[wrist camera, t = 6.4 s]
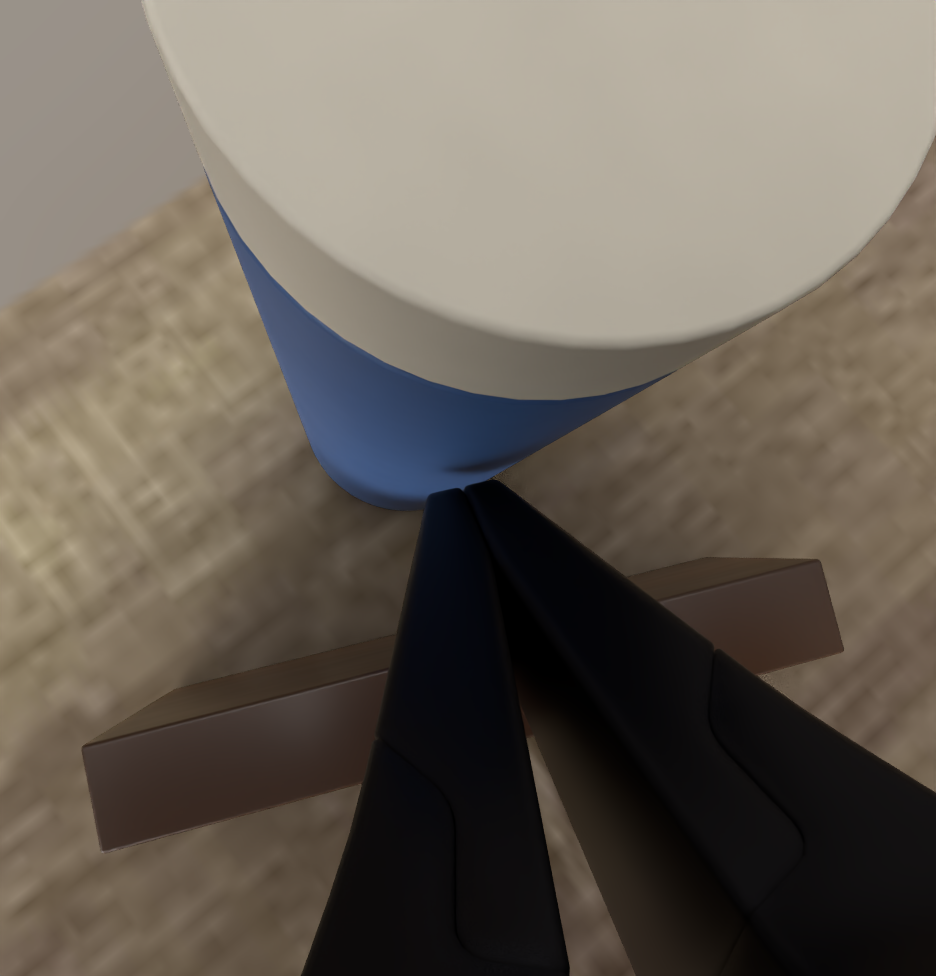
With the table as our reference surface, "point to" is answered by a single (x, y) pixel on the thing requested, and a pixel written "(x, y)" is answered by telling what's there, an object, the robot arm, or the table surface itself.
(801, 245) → the blue tube
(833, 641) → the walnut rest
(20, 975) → the table surface
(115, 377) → the table surface
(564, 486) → the table surface
